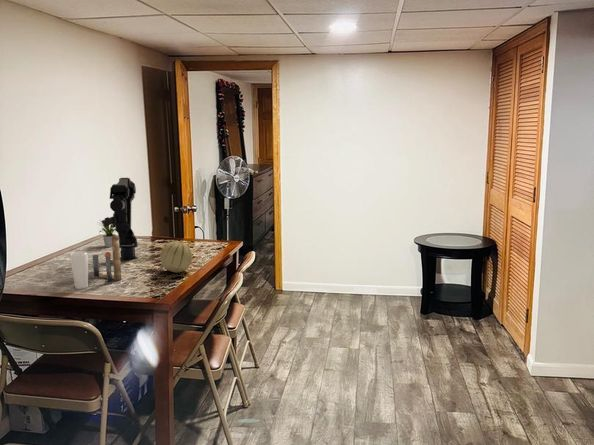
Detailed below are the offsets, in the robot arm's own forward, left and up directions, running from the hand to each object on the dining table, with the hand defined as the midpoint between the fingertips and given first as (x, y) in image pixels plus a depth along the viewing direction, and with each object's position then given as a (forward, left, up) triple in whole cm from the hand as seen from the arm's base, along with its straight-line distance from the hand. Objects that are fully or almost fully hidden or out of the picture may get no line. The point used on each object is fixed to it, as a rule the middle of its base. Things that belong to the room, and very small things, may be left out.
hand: (121, 243), depth 248 cm
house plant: (-24, -43, -12) cm, 51 cm away
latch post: (+17, +12, -12) cm, 25 cm away
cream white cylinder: (+29, +9, -12) cm, 32 cm away
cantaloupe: (-10, +26, -12) cm, 30 cm away
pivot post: (+15, +1, -12) cm, 20 cm away
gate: (+14, +8, -12) cm, 20 cm away
